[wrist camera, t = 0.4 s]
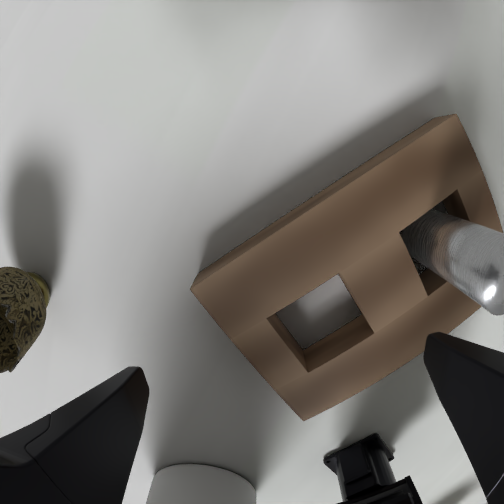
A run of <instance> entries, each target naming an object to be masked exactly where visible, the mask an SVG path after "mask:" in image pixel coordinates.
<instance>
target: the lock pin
mask: <svg viewBox="0 0 504 504" xmlns="http://www.w3.org/2000/svg"><path fill="white" fill-rule="evenodd" d="M402 240H403V242H404V244H405V246H406V248H407V250H408V252H409V255H410V256H411V257H412V258H414V259H415V260H417V261H418V262H420V263H421V264H423V265H424V266H426V267H427V268H429V269H430V270H432V271H433V272H435V273H436V274H438V275H439V276H440V277H442V278H443V279H445V280H446V281H448V282H449V283H450V284H452V285H453V286H455V287H456V288H458V289H459V290H460V291H462V292H463V293H464V294H466V295H467V296H469V297H470V298H471V299H473V300H474V301H475V302H477V303H478V304H479V305H481V306H482V307H483V308H485V309H486V310H487V311H489V312H490V313H491V314H493V315H503V314H504V233H501V232H498V231H495V230H493V229H490V228H487V227H484V226H482V225H479V224H476V223H473V222H470V221H467V220H464V219H461V218H458V217H455V216H452V215H449V214H446V213H443V212H440V211H437V210H434V209H430V210H429V211H428V212H426V213H425V214H424V215H422V216H421V217H419V218H418V219H417V220H415V221H414V222H413V223H411V224H410V225H408V226H407V227H406V228H404V229H403V230H402Z"/></svg>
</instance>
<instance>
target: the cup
mask: <svg viewBox="0 0 504 504" xmlns="http://www.w3.org/2000/svg"><path fill="white" fill-rule="evenodd" d="M49 300H50V292H49V288H48V286H47V284H46V282H45V280H44V279H43V278H42V277H41V276H40V275H38V274H36V273H33V272H25V271H23V270H21V269H19V268H15V267H2V268H0V373H3V372H5V371H7V370H9V372H12V371H13V370H14V368H15V367H16V365H17V364H18V363H19V362H20V360H21V359H22V358H23V356H24V355H25V354H26V352H27V351H28V350H29V349H30V347H31V346H32V345H33V343H34V342H35V341H36V339H37V338H38V336H39V335H40V333H41V331H42V329H43V327H44V324H45V320H46V308H47V306H48V303H49Z"/></svg>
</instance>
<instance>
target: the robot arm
mask: <svg viewBox="0 0 504 504" xmlns="http://www.w3.org/2000/svg"><path fill="white" fill-rule="evenodd" d="M424 363H425V365H426V368H427V370H428V373H429V375H430V378H431V380H432V382H433V385H434V387H435V390H436V393H437V395H438V397H439V399H440V401H441V403H442V405H443V407H444V409H445V411H446V413H447V415H448V417H449V419H450V421H451V423H452V425H453V427H454V429H455V431H456V433H457V435H458V437H459V439H460V441H461V443H462V445H463V447H464V449H465V451H466V453H467V455H468V458H469V460H470V462H471V464H472V466H473V469H474V471H475V473H476V475H477V478H478V480H479V482H480V485H481V487H482V489H483V492H484V494H485V497H486V500H487V502H488V504H504V353H503V352H500V351H497V350H493V349H490V348H487V347H484V346H481V345H478V344H475V343H472V342H469V341H466V340H463V339H460V338H457V337H454V336H451V335H448V334H445V333H442V332H435V333H431V334H429V335H428V336H427V338H426V344H425V350H424ZM148 398H149V386H148V383H147V381H146V378H145V375H144V372H143V370H142V368H140V367H127V368H126V369H124V370H122V371H121V372H119V373H117V374H116V375H114V376H112V377H111V378H109V379H107V380H106V381H104V382H102V383H101V384H99V385H97V386H96V387H94V388H92V389H91V390H89V391H87V392H86V393H84V394H82V395H81V396H79V397H77V398H75V399H74V400H72V401H70V402H69V403H67V404H65V405H64V406H62V407H60V408H58V409H57V410H55V411H53V412H51V414H48V415H46V416H44V417H43V418H41V419H39V420H37V421H35V422H33V423H32V424H30V425H28V426H26V427H23V428H21V429H19V430H17V431H15V432H13V433H11V434H8V435H6V436H4V437H2V438H0V504H122V501H123V497H124V493H125V490H126V486H127V483H128V479H129V475H130V472H131V468H132V465H133V462H134V458H135V455H136V451H137V448H138V445H139V441H140V438H141V434H142V431H143V426H144V420H145V414H146V409H147V403H148ZM393 459H394V456H393V454H392V453H391V451H390V450H389V449H388V447H387V446H386V444H385V443H384V442H383V440H382V439H381V438H380V436H379V435H378V434H373V435H371V436H369V437H367V438H365V439H363V440H362V441H360V442H358V443H356V444H354V445H352V446H349V447H347V448H345V449H343V450H341V451H339V452H337V453H335V454H332V455H330V456H328V457H326V458H324V459H323V461H324V464H325V465H326V466H327V467H329V468H330V469H331V470H332V471H333V472H334V473H335V474H336V475H337V476H338V480H339V485H340V490H341V494H342V499H343V502H340V503H337V504H422V501H421V499H420V497H419V494H418V492H417V490H416V488H415V486H414V484H413V482H412V479H411V477H410V475H409V476H407V477H405V479H402V480H400V481H398V482H396V480H395V477H394V474H393V472H392V469H391V466H390V464H389V462H390V461H391V460H393Z"/></svg>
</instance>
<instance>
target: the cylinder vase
mask: <svg viewBox="0 0 504 504" xmlns="http://www.w3.org/2000/svg"><path fill="white" fill-rule="evenodd" d="M146 504H256V492H255V489H254V488H253V486H252V485H251V484H250V483H249V482H248V481H247V480H246V479H244V478H243V477H241V476H239V475H237V474H235V473H233V472H230V471H228V470H225V469H221V468H217V467H213V466H207V465H200V464H179V465H173V466H169V467H166V468H164V469H162V470H160V471H159V472H157V473H156V475H155V476H154V478H153V481H152V484H151V488H150V491H149V495H148V498H147V502H146Z"/></svg>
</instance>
